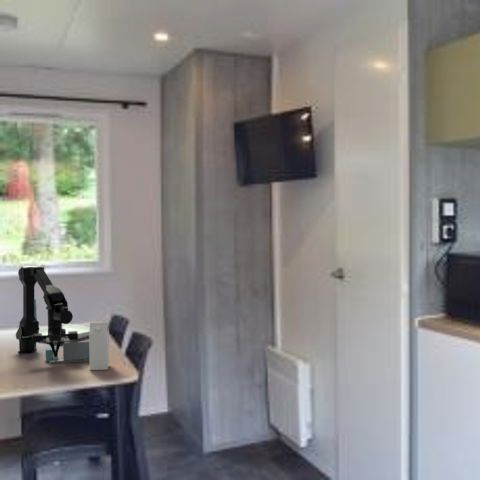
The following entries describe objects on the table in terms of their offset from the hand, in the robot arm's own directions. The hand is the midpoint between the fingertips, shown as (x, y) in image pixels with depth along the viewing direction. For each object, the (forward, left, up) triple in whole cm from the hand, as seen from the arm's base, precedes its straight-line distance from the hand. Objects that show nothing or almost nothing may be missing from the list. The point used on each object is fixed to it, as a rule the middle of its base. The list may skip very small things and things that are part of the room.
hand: (55, 356), depth 257 cm
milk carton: (+21, -6, -3) cm, 23 cm away
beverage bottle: (-41, +66, -3) cm, 77 cm away
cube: (-4, +5, -3) cm, 6 cm away
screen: (+8, +4, -1) cm, 9 cm away
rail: (+7, +3, -3) cm, 8 cm away
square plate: (-16, +48, -3) cm, 50 cm away
